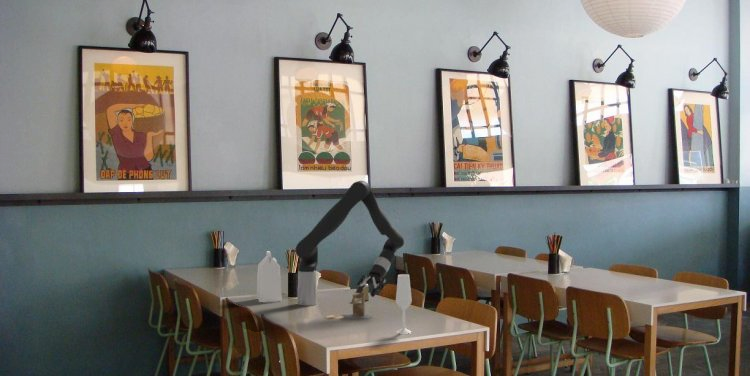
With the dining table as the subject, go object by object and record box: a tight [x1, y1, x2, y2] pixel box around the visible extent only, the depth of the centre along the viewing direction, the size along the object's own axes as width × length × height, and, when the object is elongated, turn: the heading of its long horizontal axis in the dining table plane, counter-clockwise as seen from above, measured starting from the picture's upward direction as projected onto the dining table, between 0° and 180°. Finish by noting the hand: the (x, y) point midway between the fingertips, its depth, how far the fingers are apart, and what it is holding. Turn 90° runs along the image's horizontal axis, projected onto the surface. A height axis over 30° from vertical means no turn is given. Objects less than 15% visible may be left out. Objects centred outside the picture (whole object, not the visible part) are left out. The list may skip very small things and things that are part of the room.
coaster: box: [323, 314, 344, 320], centre depth 337 cm, size 9×9×1 cm
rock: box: [351, 282, 370, 303], centre depth 384 cm, size 11×9×10 cm
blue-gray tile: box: [344, 312, 373, 319], centre depth 342 cm, size 12×12×1 cm
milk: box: [256, 250, 283, 303], centre depth 388 cm, size 12×12×26 cm
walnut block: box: [352, 292, 366, 316], centre depth 342 cm, size 5×5×10 cm
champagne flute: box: [395, 273, 413, 335], centre depth 305 cm, size 7×7×24 cm
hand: (364, 295), depth 345 cm, fingers open, 8 cm apart
